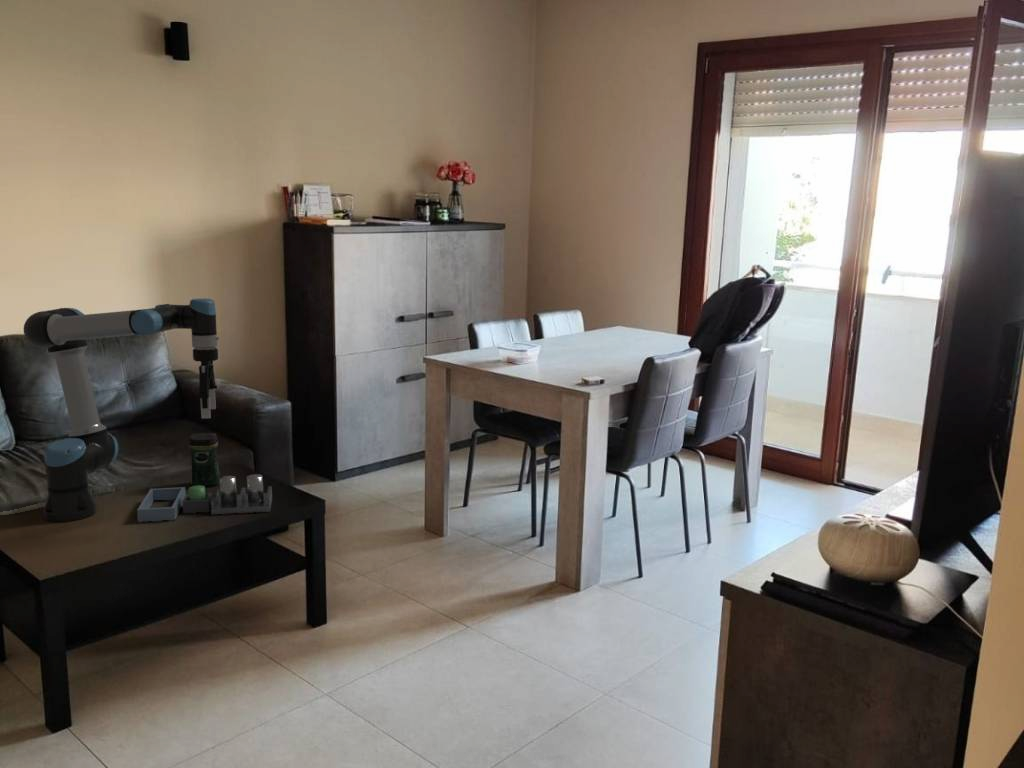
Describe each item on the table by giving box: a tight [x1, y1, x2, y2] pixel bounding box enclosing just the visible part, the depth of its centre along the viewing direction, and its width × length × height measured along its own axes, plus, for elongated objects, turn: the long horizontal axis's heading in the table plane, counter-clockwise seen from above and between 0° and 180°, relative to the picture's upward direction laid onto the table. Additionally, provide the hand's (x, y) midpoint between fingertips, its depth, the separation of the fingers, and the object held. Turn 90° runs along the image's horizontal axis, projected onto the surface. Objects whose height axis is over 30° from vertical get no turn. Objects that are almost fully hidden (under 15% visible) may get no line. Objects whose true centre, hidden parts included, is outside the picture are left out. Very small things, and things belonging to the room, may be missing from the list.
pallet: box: [210, 485, 273, 516], centre depth 290 cm, size 18×14×4 cm
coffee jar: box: [188, 432, 221, 487], centre depth 312 cm, size 10×8×19 cm
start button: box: [188, 485, 206, 500], centre depth 287 cm, size 5×5×6 cm
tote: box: [136, 486, 187, 523], centre depth 286 cm, size 11×22×4 cm, turn 12°
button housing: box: [182, 492, 213, 514], centre depth 287 cm, size 8×8×4 cm
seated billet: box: [219, 475, 238, 504], centre depth 288 cm, size 5×5×8 cm
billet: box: [246, 473, 264, 502], centre depth 290 cm, size 5×5×8 cm
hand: (208, 413), depth 283 cm, fingers open, 13 cm apart
